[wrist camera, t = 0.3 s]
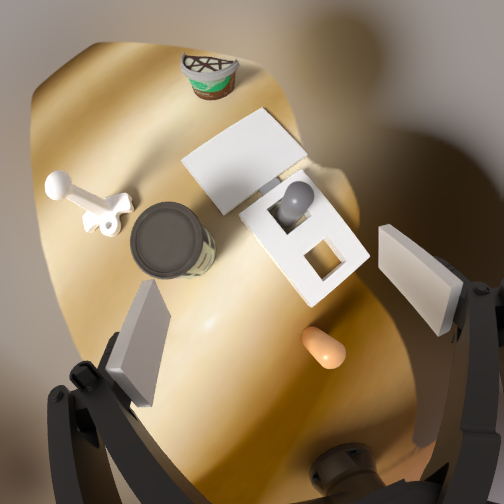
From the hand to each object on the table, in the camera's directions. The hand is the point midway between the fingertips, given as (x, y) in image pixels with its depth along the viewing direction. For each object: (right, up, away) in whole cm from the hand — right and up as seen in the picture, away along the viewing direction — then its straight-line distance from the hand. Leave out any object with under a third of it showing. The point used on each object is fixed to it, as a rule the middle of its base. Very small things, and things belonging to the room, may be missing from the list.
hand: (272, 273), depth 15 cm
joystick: (-29, +8, +34) cm, 45 cm away
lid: (-3, +19, +35) cm, 40 cm away
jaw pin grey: (+5, +8, +34) cm, 36 cm away
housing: (+8, +4, +34) cm, 35 cm away
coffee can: (-13, +1, +34) cm, 36 cm away
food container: (-11, +36, +37) cm, 53 cm away
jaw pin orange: (+10, -14, +32) cm, 36 cm away
